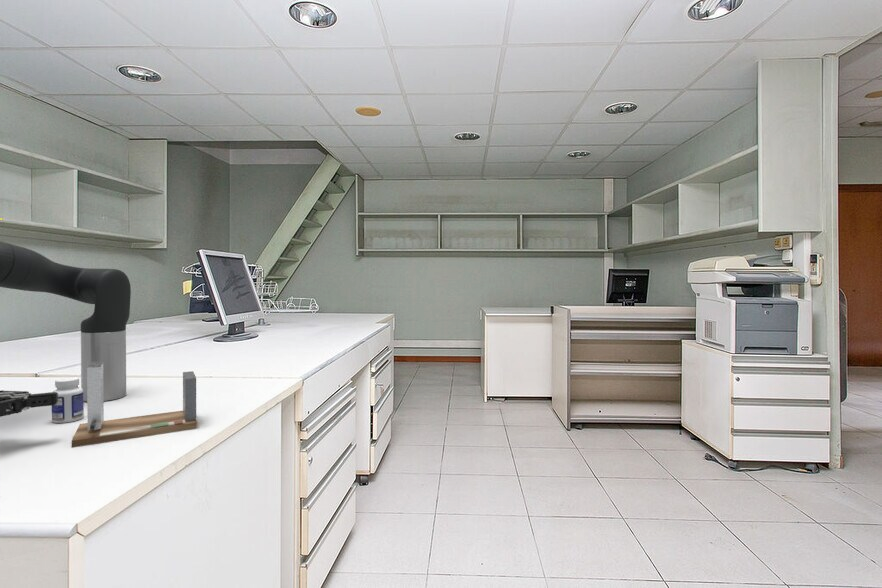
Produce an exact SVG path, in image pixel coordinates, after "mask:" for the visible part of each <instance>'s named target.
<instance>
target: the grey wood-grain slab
mask: <svg viewBox="0 0 882 588" xmlns="http://www.w3.org/2000/svg"><path fill="white" fill-rule="evenodd" d="M182 411H183V414H184V419H185V422H190V421H197V377H196V374H195V373H194V371H183V372H182Z"/></svg>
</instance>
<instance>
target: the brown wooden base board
mask: <svg viewBox="0 0 882 588" xmlns="http://www.w3.org/2000/svg"><path fill="white" fill-rule="evenodd" d="M194 429H198V422H197V420H196V421H190V422H185V419H184V414H183V410H177V411H168V412H161V413H155V414H145V415H137V416H131V417H122V418H116V419H107V420H104V421H103V424H102V427H101V429H97V430H89V431H88V422H85V423H79V425H78V427H77V429H76V431H75V433H74V435H73V437H72V439H71V448H74V447H82V446H88V445H89V446H90V445H95V444H96V445H97V444H102V443H109V442H114V441H115V442H116V441H120V440H121V441H122V440H128V439H129V440H130V439H134V438H142V437H148V436H154V435H161V434H167V433H168V434H169V433H174V432H181V431H187V430H194Z"/></svg>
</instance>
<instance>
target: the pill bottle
mask: <svg viewBox="0 0 882 588" xmlns="http://www.w3.org/2000/svg"><path fill="white" fill-rule="evenodd" d="M79 385H80V377H75V376H74V377H73V376H72V377H71V376H70V377H64V378H63V377H62V378H58V379H55V381H54V386H55V388H56V389H55V390H53V391H52V392H57V393H58V402H57V403H56V404H55V405H51V420H52V423H55V424H65V423H72V422H73V423H74V422H76V421H79V420H82V419H83V418H84V416H85V413H84V412H85V410H84V406H85V405H84V402H85V401H83V389H82V388H81V386H79Z"/></svg>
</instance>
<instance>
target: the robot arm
mask: <svg viewBox="0 0 882 588" xmlns="http://www.w3.org/2000/svg"><path fill="white" fill-rule="evenodd" d="M0 288H4V289H11V290H18V291H25V292H26V291H27V292H33V293H34V292H36V293H39V292H40V293H47V294H48V293H49V294H53V295H55V296H56V295H57V296H60V297H63V298H68V299H71V300H74V301H77V302H81V303H84V304H88V305H94V309H93V312H92V314H91V315H90V316H89V317H88V318H87V317H86V318H85V319H83V320H82V321H81V323H80V377H81V378H80V388H82V389H83V402H86V403H87V367H88V366H89V365H90V363H97V362H103V391H104V402H105V401H112V400H116V399H121V398H124V397H126V396H127V330H126V329H127V323H128V321H129V318H130V311H131V298H132V297H131V293H132V292H131V291H132V289H131V283H130V280H129V277H128V275H127V274H126V273H125V272H124V271H122V270H120V269H116V268H84V267H77V266H72V265H67V264H61V263H58V262H55V261H53V260H51V259H49V258H48V257H46V256H45V255H42V254H41V253H39V252H37V251H35V250H32V249H30V248H26V247H23V246H19V245H16V244H12V243H8V242H5V241H1V240H0ZM57 402H58V393H57V392H53V391H51V392H41V393H39V392H38V393H33V394H32V393H31V392H30V391H26V390H23V391H20V390H4V389H3V390H0V418H2V417H6V416H10V415H15V414H20V413H22V412H23V411H27V410H29V409H30V408H31V409H33V408H41V407H49V406H51V407H52V405H55V404H56V403H57Z"/></svg>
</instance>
